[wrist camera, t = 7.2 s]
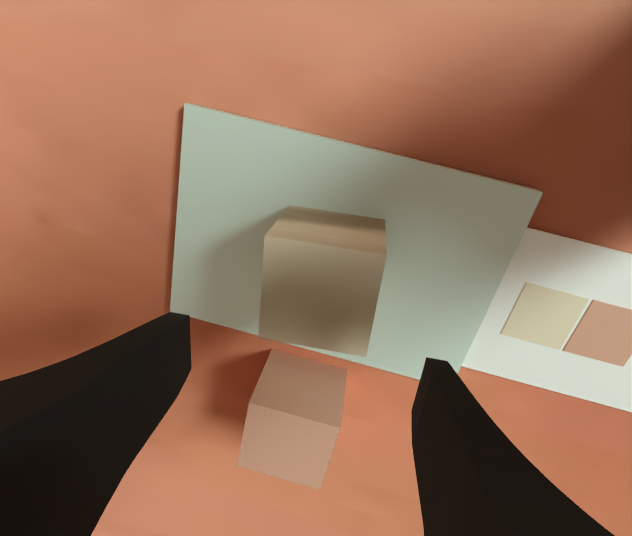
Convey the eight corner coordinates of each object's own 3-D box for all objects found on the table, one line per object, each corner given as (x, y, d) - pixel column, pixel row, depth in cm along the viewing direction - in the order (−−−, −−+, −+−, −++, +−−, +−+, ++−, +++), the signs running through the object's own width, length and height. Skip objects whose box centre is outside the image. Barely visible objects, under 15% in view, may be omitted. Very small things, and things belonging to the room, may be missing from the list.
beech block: (289, 205, 19) (264, 235, 15) (385, 219, 18) (386, 255, 14) (282, 289, 20) (258, 337, 16) (368, 304, 20) (366, 357, 16)
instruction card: (496, 219, 18) (498, 221, 18) (740, 281, 18) (745, 283, 17) (436, 357, 21) (437, 360, 21) (640, 412, 21) (643, 416, 21)
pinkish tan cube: (272, 347, 23) (248, 402, 19) (347, 368, 23) (340, 428, 19) (260, 405, 25) (236, 465, 21) (329, 424, 25) (319, 489, 21)
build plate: (190, 103, 18) (184, 103, 17) (538, 189, 17) (543, 192, 17) (174, 306, 23) (169, 311, 22) (448, 381, 22) (450, 388, 21)
